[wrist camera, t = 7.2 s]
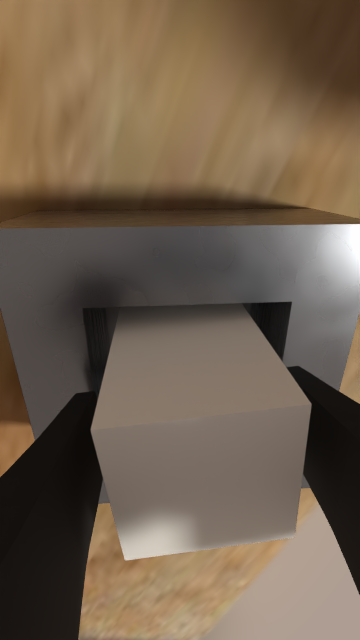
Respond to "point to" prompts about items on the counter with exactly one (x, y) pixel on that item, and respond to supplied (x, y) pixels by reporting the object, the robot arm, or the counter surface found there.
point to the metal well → (171, 287)
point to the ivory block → (198, 431)
